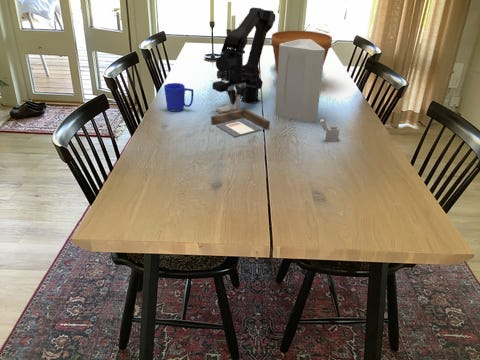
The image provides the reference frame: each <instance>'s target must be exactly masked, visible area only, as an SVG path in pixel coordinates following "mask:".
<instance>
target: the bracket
mask: <svg viewBox="0 0 480 360" xmlns="http://www.w3.org/2000/svg"><path fill="white" fill-rule="evenodd" d="M240 97H241V95H240V94H238V93H235V101H234V105H232V104H231V101H230V100H229V104H228V105H224V106H223V105H222V106H219V107H215V112H216V113H218V115H219V114H224V113H228V112H233V111H237V110H241V99H240ZM241 98H242V97H241Z"/></svg>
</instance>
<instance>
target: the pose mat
mask: <svg viewBox="0 0 480 360" xmlns="http://www.w3.org/2000/svg"><path fill="white" fill-rule="evenodd" d="M215 125H216V127H217V128H218V129H220V130H222V131H223V132H225V133H227V134H228V135H230V136H231V137H233V138H237V137H242V136H245V135H248V134H253V133H257V132H261V131H263V129H262V127H260V126H259V127H258V125H256V124H254V123H251V122H250V121H249V120H247V119H245V118H240V119H236V120H232V121H227V122H223V123H219V124H215Z"/></svg>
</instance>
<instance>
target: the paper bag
mask: <svg viewBox="0 0 480 360" xmlns="http://www.w3.org/2000/svg"><path fill="white" fill-rule="evenodd" d="M324 54H325V49H324V48H322V47H321V46H320V45H318V44H317V43H315V42H314V41H313V40H311V39H299V40H294V41H290V42H285V43H281V44H279V60H278V75H277V74H276V75H277V77H276V78H277V79H276V94H275V107H274V110H275V111H274V115H275V116H276V117H278V118H284V119H288V120H293V121H297V122H302V123H317V122H318V114H319V103H320V95H321V86H322V81H323V79H322V78H323V70H324V65H323V63H324V64H325V62H324Z"/></svg>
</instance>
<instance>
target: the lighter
mask: <svg viewBox="0 0 480 360" xmlns="http://www.w3.org/2000/svg"><path fill="white" fill-rule="evenodd" d="M319 122H320V125H321V127H322V129H323V131H324V132H326V133H325V134H326V135H325V141H326V142H338V141H339V136H340V135H339V134H340V128H339V127H338V126H336V125H330V127H328V126H327V124H326V121H325V119H324V118H321V119H319Z"/></svg>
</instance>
